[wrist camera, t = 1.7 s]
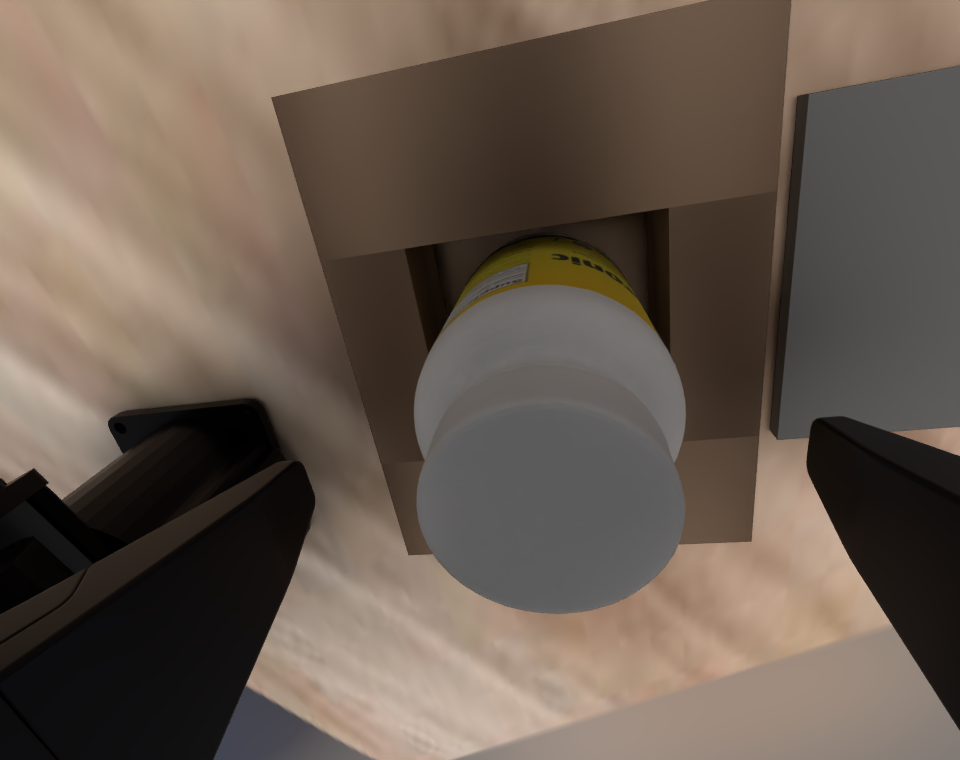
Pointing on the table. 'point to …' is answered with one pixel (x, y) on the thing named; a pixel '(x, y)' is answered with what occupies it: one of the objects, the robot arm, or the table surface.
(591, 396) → the supplement bottle
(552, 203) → the pocket holder
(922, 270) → the coaster
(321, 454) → the table surface
